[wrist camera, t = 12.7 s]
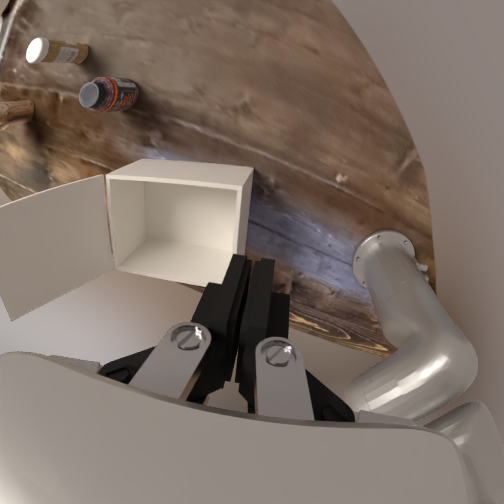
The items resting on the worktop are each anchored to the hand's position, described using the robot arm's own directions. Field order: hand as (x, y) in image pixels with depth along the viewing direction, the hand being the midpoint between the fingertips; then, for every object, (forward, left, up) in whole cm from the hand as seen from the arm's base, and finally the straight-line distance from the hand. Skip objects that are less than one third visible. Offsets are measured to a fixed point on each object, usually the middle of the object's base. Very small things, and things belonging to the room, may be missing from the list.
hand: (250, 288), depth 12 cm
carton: (+14, +11, -37) cm, 41 cm away
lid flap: (+29, +11, -16) cm, 35 cm away
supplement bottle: (+28, -9, -37) cm, 48 cm away
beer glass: (+57, -9, -37) cm, 69 cm away
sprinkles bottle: (+40, -19, -37) cm, 58 cm away
